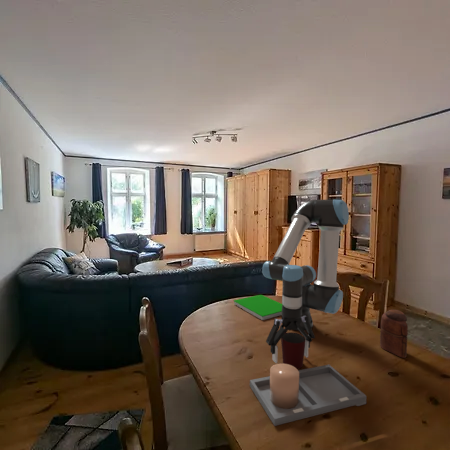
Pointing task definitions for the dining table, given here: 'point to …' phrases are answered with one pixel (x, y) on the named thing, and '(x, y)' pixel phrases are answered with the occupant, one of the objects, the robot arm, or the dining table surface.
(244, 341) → the dining table surface
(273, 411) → the holder
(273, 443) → the dining table surface
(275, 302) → the book
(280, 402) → the peach rounded cylinder
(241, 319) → the dining table surface
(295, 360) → the mug
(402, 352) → the brown leather pouch
